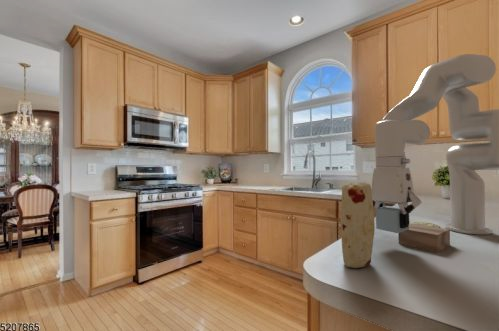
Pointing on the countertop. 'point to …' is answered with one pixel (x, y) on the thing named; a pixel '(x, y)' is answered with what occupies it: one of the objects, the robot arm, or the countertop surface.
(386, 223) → the slate cube
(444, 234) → the walnut block
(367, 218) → the food model
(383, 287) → the countertop surface
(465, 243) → the countertop surface
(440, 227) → the decorated donut
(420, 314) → the countertop surface
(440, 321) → the countertop surface
